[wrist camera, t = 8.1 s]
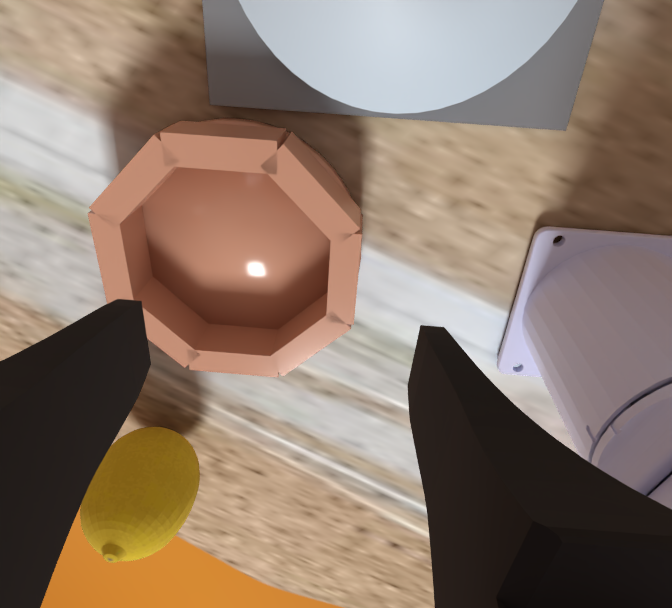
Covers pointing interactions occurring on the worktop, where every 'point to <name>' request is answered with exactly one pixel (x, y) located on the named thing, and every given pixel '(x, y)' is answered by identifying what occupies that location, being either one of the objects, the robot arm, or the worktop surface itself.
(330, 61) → the lid
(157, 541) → the lemon
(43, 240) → the worktop surface
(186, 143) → the bowl
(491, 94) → the mat
